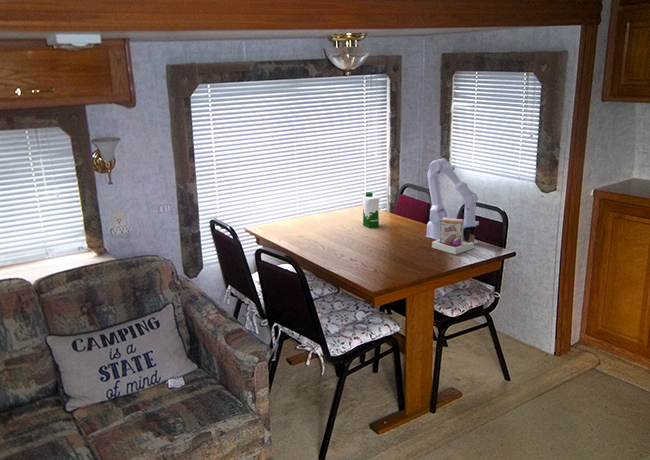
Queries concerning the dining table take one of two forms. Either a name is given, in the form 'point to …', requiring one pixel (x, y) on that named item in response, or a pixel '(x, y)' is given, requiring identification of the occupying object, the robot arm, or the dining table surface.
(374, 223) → the milk carton
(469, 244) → the frame
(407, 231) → the dining table surface
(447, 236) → the candy bar box
